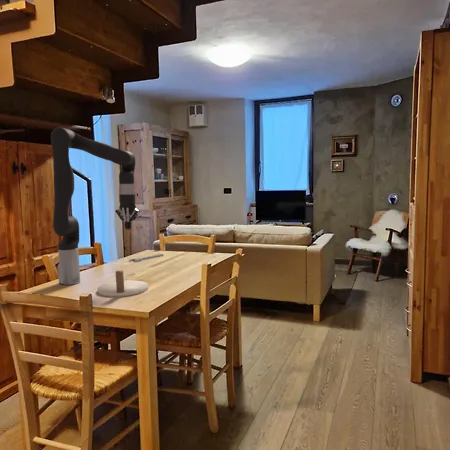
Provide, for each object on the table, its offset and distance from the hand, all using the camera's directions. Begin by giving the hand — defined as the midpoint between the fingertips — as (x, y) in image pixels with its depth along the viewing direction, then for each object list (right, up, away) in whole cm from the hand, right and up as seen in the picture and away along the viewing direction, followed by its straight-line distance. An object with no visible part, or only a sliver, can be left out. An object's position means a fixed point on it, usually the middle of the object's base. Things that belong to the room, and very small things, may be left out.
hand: (128, 229), depth 199 cm
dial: (+1, -27, -13) cm, 30 cm away
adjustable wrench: (-2, -20, +64) cm, 67 cm away
